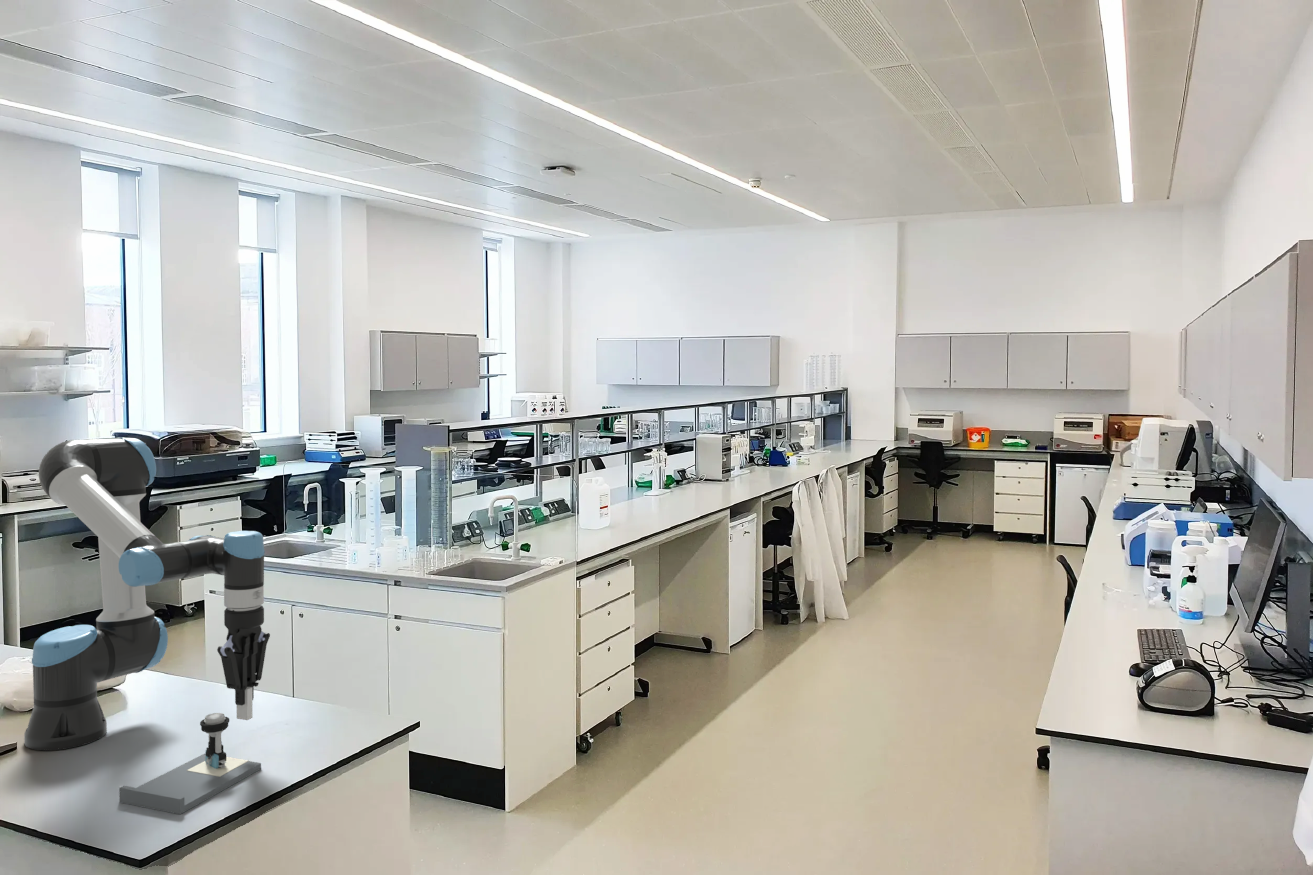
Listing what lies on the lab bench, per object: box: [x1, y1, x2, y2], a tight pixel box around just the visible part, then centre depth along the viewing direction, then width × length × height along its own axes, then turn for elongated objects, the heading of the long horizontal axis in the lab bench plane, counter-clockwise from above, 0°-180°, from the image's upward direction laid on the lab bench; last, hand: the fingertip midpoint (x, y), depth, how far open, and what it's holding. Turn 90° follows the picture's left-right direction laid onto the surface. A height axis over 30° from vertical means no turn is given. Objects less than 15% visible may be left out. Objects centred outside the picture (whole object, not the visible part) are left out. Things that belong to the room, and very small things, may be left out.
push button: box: [199, 712, 230, 769], centre depth 186 cm, size 7×5×10 cm
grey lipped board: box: [118, 753, 262, 815], centre depth 180 cm, size 14×21×3 cm, turn 163°
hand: (244, 717), depth 193 cm, fingers closed
